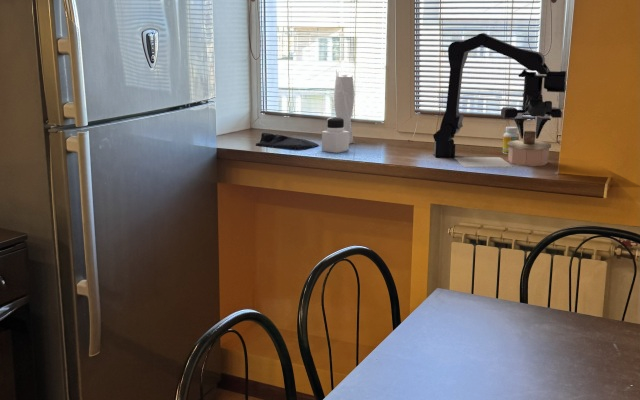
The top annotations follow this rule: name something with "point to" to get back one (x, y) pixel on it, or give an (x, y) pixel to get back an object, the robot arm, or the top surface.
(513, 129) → the supplement bottle
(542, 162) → the bowl
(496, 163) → the mat
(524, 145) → the lid
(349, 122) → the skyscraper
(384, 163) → the top surface
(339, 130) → the medicine bottle
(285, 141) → the crumpled black cloth
